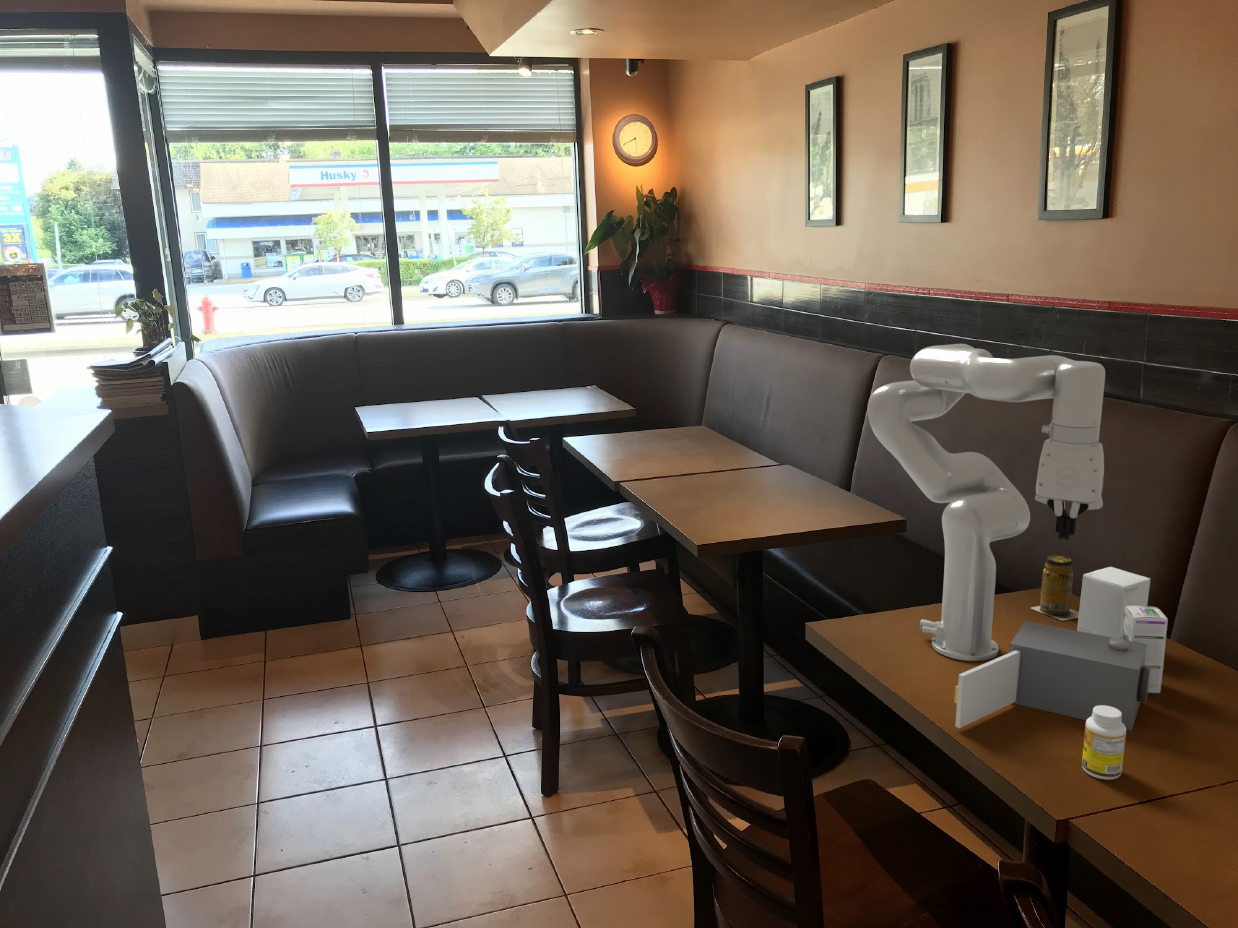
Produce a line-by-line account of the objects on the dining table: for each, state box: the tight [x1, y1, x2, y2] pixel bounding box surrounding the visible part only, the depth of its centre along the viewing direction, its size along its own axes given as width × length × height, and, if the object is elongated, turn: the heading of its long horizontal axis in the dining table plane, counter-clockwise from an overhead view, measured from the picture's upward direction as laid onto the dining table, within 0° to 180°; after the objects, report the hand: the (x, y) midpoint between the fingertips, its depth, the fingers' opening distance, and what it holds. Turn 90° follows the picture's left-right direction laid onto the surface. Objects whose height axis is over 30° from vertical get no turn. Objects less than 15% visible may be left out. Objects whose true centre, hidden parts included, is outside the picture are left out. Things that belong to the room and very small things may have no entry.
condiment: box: [1030, 555, 1079, 621], centre depth 210 cm, size 7×8×12 cm
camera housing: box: [1008, 620, 1150, 732], centre depth 170 cm, size 21×12×12 cm, turn 56°
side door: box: [953, 650, 1021, 729], centre depth 166 cm, size 16×2×9 cm, turn 125°
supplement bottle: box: [1081, 705, 1127, 781], centre depth 148 cm, size 6×6×10 cm
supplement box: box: [1076, 566, 1151, 639], centre depth 192 cm, size 9×9×15 cm
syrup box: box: [1123, 605, 1169, 694], centre depth 175 cm, size 6×6×14 cm
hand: (1064, 537), depth 169 cm, fingers closed
